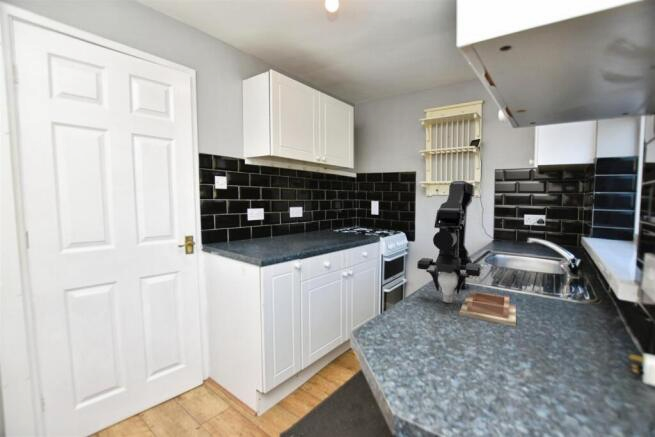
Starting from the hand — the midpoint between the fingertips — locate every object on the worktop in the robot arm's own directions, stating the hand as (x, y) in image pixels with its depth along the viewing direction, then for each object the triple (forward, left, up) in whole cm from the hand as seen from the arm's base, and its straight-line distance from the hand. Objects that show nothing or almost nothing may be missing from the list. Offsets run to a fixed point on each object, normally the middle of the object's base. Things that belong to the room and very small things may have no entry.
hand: (447, 292), depth 97 cm
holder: (+2, +12, -4) cm, 13 cm away
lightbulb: (0, 0, -4) cm, 4 cm away
